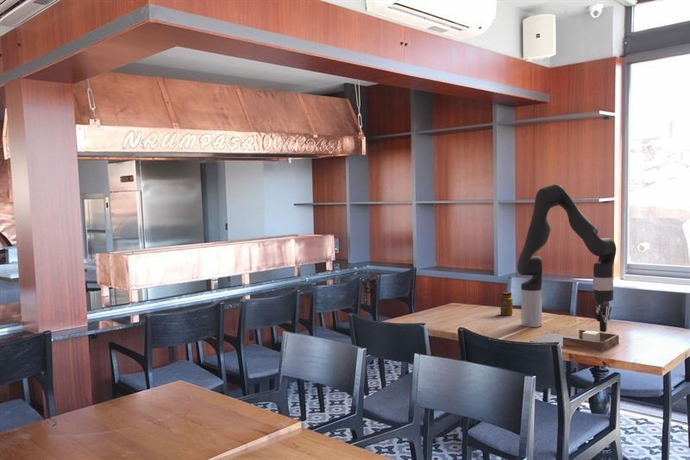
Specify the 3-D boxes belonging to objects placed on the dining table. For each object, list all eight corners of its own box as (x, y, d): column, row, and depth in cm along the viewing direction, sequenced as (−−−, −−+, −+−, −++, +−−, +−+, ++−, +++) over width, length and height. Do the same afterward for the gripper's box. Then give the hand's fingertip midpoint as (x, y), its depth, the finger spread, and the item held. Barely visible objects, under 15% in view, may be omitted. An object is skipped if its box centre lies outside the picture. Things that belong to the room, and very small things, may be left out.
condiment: (515, 315, 306) (515, 292, 305) (507, 317, 300) (507, 294, 299) (503, 313, 311) (503, 291, 310) (494, 316, 305) (494, 293, 304)
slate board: (548, 335, 260) (548, 333, 259) (619, 345, 239) (619, 343, 239) (529, 343, 246) (529, 340, 246) (603, 354, 226) (603, 352, 226)
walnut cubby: (579, 337, 250) (579, 329, 250) (618, 343, 239) (618, 334, 239) (562, 345, 237) (562, 337, 237) (603, 352, 226) (603, 343, 226)
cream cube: (587, 342, 241) (587, 330, 241) (599, 344, 238) (599, 332, 238) (582, 344, 238) (582, 332, 238) (595, 346, 234) (595, 334, 234)
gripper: (599, 285, 241) (599, 327, 241) (587, 289, 231) (587, 333, 232) (618, 287, 236) (618, 329, 236) (606, 291, 226) (606, 335, 227)
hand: (603, 331), depth 234 cm, fingers closed
